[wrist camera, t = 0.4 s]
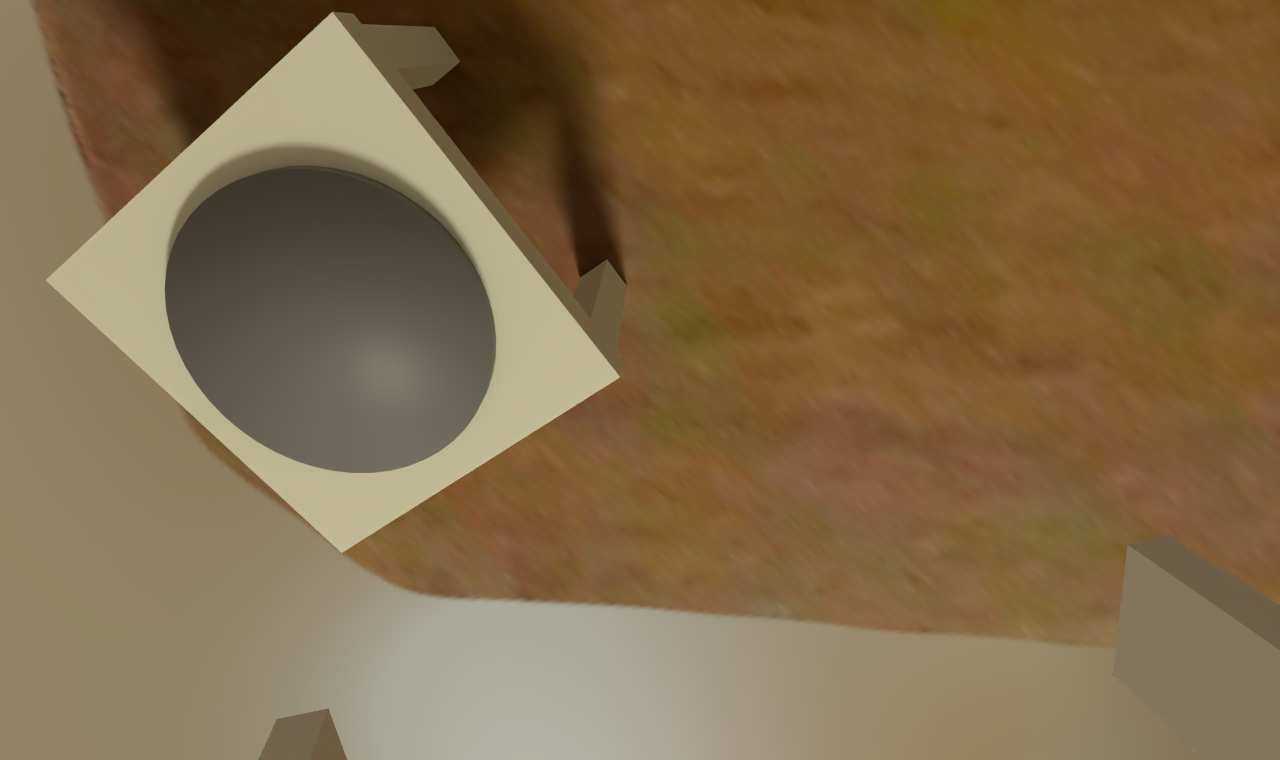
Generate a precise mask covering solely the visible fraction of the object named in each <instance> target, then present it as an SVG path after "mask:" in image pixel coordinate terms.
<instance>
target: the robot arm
mask: <svg viewBox="0 0 1280 760" xmlns="http://www.w3.org/2000/svg"><path fill="white" fill-rule="evenodd" d="M1113 676H1114V677H1115V678H1116V679H1117V680H1118V681H1120V682H1121V683H1122V684H1123V685H1124V686H1125V687H1126V688H1127V689H1128V690H1129V691H1130V692H1131V693H1132V694H1133V695H1134V696H1136V697H1137V698H1138V699H1139V700H1140V701H1141V702H1142V703H1143V704H1144V705H1145V706H1146V707H1147V708H1148V709H1149V710H1151V712H1153V713H1154V714H1155V715H1156V716H1157V717H1158V718H1159V719H1160V720H1161V721H1162V722H1163V723H1164V724H1165V725H1166V726H1168V727H1169V728H1170V729H1171V730H1172V731H1173V732H1174V733H1175V734H1176V735H1177V736H1178V737H1179V738H1180V739H1181V740H1182V741H1183V742H1185V743H1186V744H1187V745H1188V746H1189V747H1190V748H1191V749H1192V750H1193V751H1194V752H1195V753H1196V754H1197V755H1198V756H1199V757H1201V758H1202V759H1203V760H1280V605H1278V604H1277V603H1275V602H1273V601H1272V600H1270V599H1269V598H1267V597H1265V596H1264V595H1262V594H1261V593H1259V592H1258V591H1256V590H1254V589H1253V588H1251V587H1250V586H1248V585H1247V584H1245V583H1243V582H1242V581H1240V580H1239V579H1237V578H1235V577H1234V576H1232V575H1231V574H1229V573H1228V572H1226V571H1224V570H1223V569H1221V568H1220V567H1218V566H1217V565H1215V564H1213V563H1212V562H1210V561H1209V560H1207V559H1205V558H1204V557H1202V556H1201V555H1199V554H1198V553H1196V552H1194V551H1193V550H1191V549H1190V548H1188V547H1187V546H1185V545H1183V544H1182V543H1180V542H1179V541H1177V540H1175V539H1174V538H1172V537H1171V536H1167V537H1162V538H1157V539H1153V540H1148V541H1143V542H1138V543H1133V544H1128V545H1127V554H1126V563H1125V572H1124V581H1123V590H1122V599H1121V608H1120V617H1119V626H1118V635H1117V644H1116V653H1115V662H1114V671H1113ZM259 760H347V758H346V756H345V753H344V750H343V747H342V745H341V742H340V739H339V736H338V734H337V731H336V728H335V726H334V723H333V720H332V718H331V715H330V712H329V709H324V710H319V711H314V712H309V713H304V714H300V715H295V716H290V717H285V718H280V719H277V720H276V723H275V725H274V727H273V729H272V731H271V734H270V736H269V738H268V740H267V742H266V744H265V747H264V749H263V751H262V753H261V756H260V758H259Z"/></svg>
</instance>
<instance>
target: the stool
mask: <svg viewBox="0 0 1280 760" xmlns="http://www.w3.org/2000/svg"><path fill="white" fill-rule="evenodd" d="M459 62H460V60H459V59H458V58H457V56H456V55H455V54H454V52H453V51H452V50H451V48H450V47H449V46H448V44H447V43H446V41H445V40H444V39H443V37H442V36H441V35H440V33H439V32H438V31H437V29H436V28H435V27H422V26H397V25H372V24H361V23H360V22H359V20H358V19H357V18H356V16H355V15H354V14H353V13H339V12H332V13H331V14H330V15H329V16H328V17H326V18H325V19H324V20H323V21H322V22H321V23H320V24H319V25H318V26H317V27H316V28H315V29H314V30H313V31H311V32H310V33H309V34H308V35H307V36H306V37H305V38H304V39H303V40H302V41H301V42H300V43H299V44H298V45H297V46H295V47H294V48H293V49H292V50H291V51H290V52H289V53H288V54H287V55H286V56H285V57H284V58H283V59H282V60H281V61H279V62H278V63H277V64H276V65H275V66H274V67H273V68H272V69H271V70H270V71H269V72H268V73H267V74H266V75H264V76H263V77H262V78H261V79H260V80H259V81H258V82H257V83H256V84H255V85H254V86H253V87H252V88H251V89H250V90H248V91H247V92H246V93H245V94H244V95H243V96H242V97H241V98H240V99H239V100H238V101H237V102H236V103H235V104H233V105H232V106H231V107H230V108H229V109H228V110H227V111H226V112H225V113H224V114H223V115H222V116H221V117H220V118H219V119H217V120H216V121H215V122H214V123H213V124H212V125H211V126H210V127H209V128H208V129H207V130H206V131H205V132H204V133H203V134H201V135H200V136H199V137H198V138H197V139H196V140H195V141H194V142H193V143H192V144H191V145H190V146H189V147H188V148H186V149H185V150H184V151H183V152H182V153H181V154H180V155H179V156H178V157H177V158H176V159H175V160H174V161H173V162H172V163H170V164H169V165H168V166H167V167H166V168H165V169H164V170H163V171H162V172H161V173H160V174H159V175H158V176H157V177H156V178H154V179H153V180H152V181H151V182H150V183H149V184H148V185H147V186H146V187H145V188H144V189H143V190H142V191H141V192H139V193H138V194H137V195H136V196H135V197H134V198H133V199H132V200H131V201H130V202H129V203H128V204H127V205H126V206H125V207H123V208H122V209H121V210H120V211H119V212H118V213H117V214H116V215H115V216H114V217H113V218H112V219H111V220H110V221H109V222H107V223H106V224H105V225H104V226H103V227H102V228H101V229H100V230H99V231H98V232H97V233H96V234H95V235H94V236H93V237H91V238H90V239H89V240H88V241H87V242H86V243H85V244H84V245H83V246H82V247H81V248H80V249H79V250H78V251H76V253H74V254H73V255H72V256H71V257H70V258H69V259H68V260H67V261H66V262H65V263H64V264H63V265H62V266H60V267H59V268H58V269H57V270H56V271H55V272H54V273H53V274H52V275H51V276H50V277H49V278H48V279H47V280H46V281H47V282H48V283H49V284H50V285H52V286H53V287H54V288H55V289H56V290H57V291H58V292H59V293H60V294H61V295H62V296H63V297H65V298H66V299H67V300H68V301H69V302H70V303H71V304H72V305H73V306H74V307H75V308H77V309H78V310H79V311H80V312H81V313H82V314H83V315H84V316H85V317H86V318H87V319H88V320H90V321H91V322H92V323H93V324H94V325H95V326H96V327H97V328H98V329H99V330H101V331H102V332H103V333H104V334H105V335H106V336H107V337H108V338H109V339H110V340H111V341H112V342H114V343H115V344H116V345H117V346H118V347H119V348H120V349H121V350H122V351H123V352H124V353H125V354H127V355H128V356H129V357H130V358H131V359H132V360H133V361H134V362H135V363H136V364H137V365H138V366H139V367H141V368H142V369H143V370H144V371H145V372H146V373H147V374H148V375H149V376H151V378H153V379H154V380H155V381H156V382H157V383H158V384H159V385H160V386H161V387H162V388H163V389H164V390H166V391H167V392H168V393H169V394H170V395H171V396H172V397H173V398H174V399H175V400H176V401H177V402H179V403H180V404H181V405H182V406H183V407H184V408H185V409H186V410H187V411H188V412H189V413H190V414H192V415H193V416H194V417H195V418H196V419H197V420H198V421H199V422H200V423H201V424H202V425H203V426H205V427H206V428H207V429H208V430H209V431H210V432H211V433H212V434H213V435H214V436H215V437H217V438H218V439H219V440H220V441H221V442H222V443H223V444H224V445H225V446H226V447H227V448H228V449H230V450H231V451H232V452H233V453H234V454H235V455H236V456H237V457H238V458H239V459H240V460H241V461H243V462H244V463H245V464H246V465H247V466H248V467H249V468H250V469H251V470H252V471H253V472H255V473H256V474H257V475H258V476H259V477H260V478H261V479H262V480H263V481H264V482H265V483H266V484H268V485H269V486H270V487H271V488H272V489H273V490H274V491H275V492H276V493H277V494H278V495H279V496H281V497H282V498H283V499H284V500H285V501H286V502H287V503H288V504H289V505H290V506H291V507H292V508H294V509H295V510H296V511H297V512H298V513H299V514H300V515H301V516H302V517H303V518H304V519H306V520H307V521H308V522H309V523H310V524H311V525H312V526H313V527H314V528H315V529H316V530H317V531H319V532H320V533H321V534H322V535H323V536H324V537H325V538H326V539H327V540H328V541H329V542H330V543H332V544H333V545H334V546H335V547H336V548H337V549H338V550H339V551H340V552H341V553H342V552H344V551H345V550H347V549H349V548H350V547H352V546H353V545H355V544H356V543H358V542H360V541H361V540H363V539H364V538H366V537H368V536H369V535H371V534H372V533H374V532H375V531H377V530H379V529H380V528H382V527H383V526H385V525H387V524H388V523H390V522H391V521H393V520H394V519H396V518H398V517H399V516H401V515H402V514H404V513H406V512H407V511H409V510H410V509H412V508H413V507H415V506H417V505H418V504H420V503H421V502H423V501H425V500H426V499H428V498H429V497H431V496H432V495H434V494H436V493H437V492H439V491H440V490H442V489H444V488H445V487H447V486H448V485H450V484H451V483H453V482H455V481H456V480H458V479H459V478H461V477H463V476H464V475H466V474H467V473H469V472H471V471H472V470H474V469H475V468H477V467H478V466H480V465H482V464H483V463H485V462H486V461H488V460H490V459H491V458H493V457H494V456H496V455H497V454H499V453H501V452H502V451H504V450H505V449H507V448H509V447H510V446H512V445H513V444H515V443H516V442H518V441H520V440H521V439H523V438H524V437H526V436H528V435H529V434H531V433H532V432H534V431H535V430H537V429H539V428H540V427H542V426H543V425H545V424H547V423H548V422H550V421H551V420H553V419H554V418H556V417H558V416H559V415H561V414H562V413H564V412H566V411H567V410H569V409H570V408H572V407H573V406H575V405H577V404H578V403H580V402H581V401H583V400H585V399H586V398H588V397H589V396H591V395H592V394H594V393H596V392H597V391H599V390H600V389H602V388H604V387H605V386H607V385H608V384H610V383H612V382H613V381H615V380H616V379H618V378H619V377H620V374H621V367H622V358H621V357H620V356H619V354H618V353H617V352H616V349H617V343H618V337H619V331H620V325H621V319H622V312H623V306H624V300H625V294H626V288H627V286H626V284H625V283H624V282H623V280H622V279H621V278H620V276H619V275H618V273H617V272H616V271H615V269H614V268H613V267H612V265H611V264H610V263H609V261H608V260H605V261H604V262H602V263H601V264H599V265H598V266H596V267H595V268H594V269H592V270H591V271H589V272H588V273H586V274H585V275H583V276H582V277H581V278H580V279H579V282H578V285H577V288H576V290H575V293H574V296H573V295H572V294H571V293H570V291H569V290H568V289H567V288H566V286H565V285H564V284H563V282H562V281H561V280H560V279H559V277H558V276H557V275H556V273H555V272H554V271H553V270H552V268H551V267H550V266H549V264H548V263H547V262H546V261H545V259H544V258H543V257H542V255H541V254H540V253H539V252H538V250H537V249H536V248H535V247H534V245H533V244H532V243H531V241H530V240H529V239H528V238H527V236H526V235H525V234H524V232H523V231H522V230H521V229H520V227H519V226H518V225H517V223H516V222H515V221H514V220H513V218H512V217H511V216H510V214H509V213H508V212H507V211H506V209H505V208H504V207H503V205H502V204H501V203H500V202H499V200H498V199H497V198H496V196H495V195H494V194H493V193H492V191H491V190H490V189H489V187H488V186H487V185H486V184H485V182H484V181H483V180H482V178H481V177H480V176H479V175H478V173H477V172H476V171H475V169H474V168H473V167H472V166H471V164H470V163H469V162H468V160H467V159H466V158H465V157H464V155H463V154H462V153H461V151H460V150H459V149H458V148H457V146H456V145H455V144H454V142H453V141H452V140H451V139H450V137H449V136H448V135H447V133H446V132H445V131H444V130H443V128H442V127H441V126H440V124H439V123H438V122H437V121H436V119H435V118H434V117H433V115H432V114H431V113H430V112H429V110H428V109H427V108H426V106H425V105H424V104H423V103H422V101H421V100H420V99H419V97H418V96H417V95H416V94H415V92H414V91H413V90H412V89H417V88H422V87H427V86H431V85H433V84H435V83H436V82H437V81H438V80H439V79H440V78H442V77H443V76H444V75H445V74H446V73H448V72H449V71H450V70H451V69H452V68H453V67H455V66H456V65H457V64H458V63H459Z"/></svg>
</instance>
